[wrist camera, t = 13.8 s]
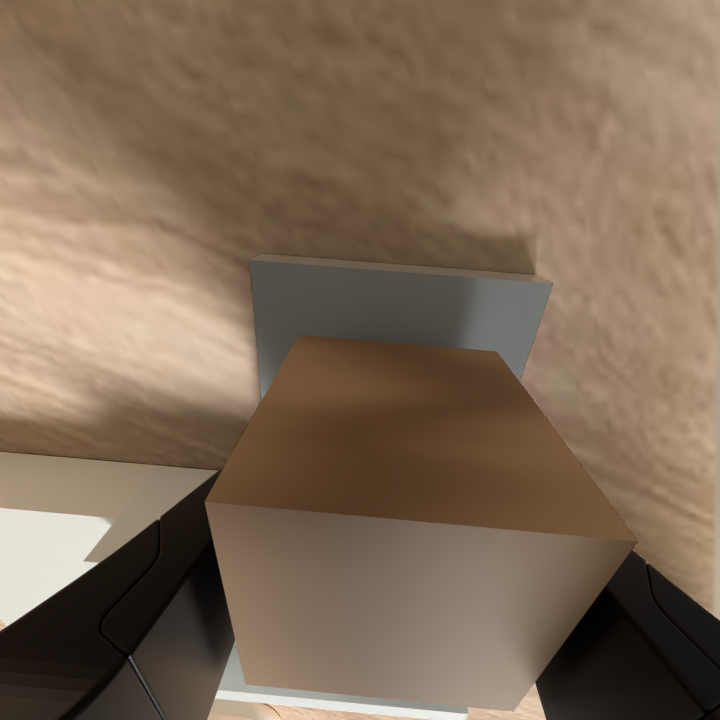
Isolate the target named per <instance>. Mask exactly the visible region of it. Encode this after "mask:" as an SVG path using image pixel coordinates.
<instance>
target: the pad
mask: <svg viewBox="0 0 720 720" xmlns="http://www.w3.org/2000/svg"><path fill="white" fill-rule="evenodd" d="M249 265H250V277H251V288H252V299H253V310H254V321H255V332H256V343H257V354H258V366H259V377H260V388H261V399H263V397H264V395H265V394H266V392H267V390H268V388H269V387H270V385H271V383H272V381H273V380H274V378H275V376H276V374H277V372H278V371H279V369H280V367H281V365H282V364H283V362H284V360H285V358H286V357H287V355H288V353H289V351H290V349H291V348H292V346H293V344H294V342H295V341H296V339H297V337H298V335H307V336H319V337H331V338H343V339H355V340H367V341H379V342H391V343H403V344H415V345H427V346H439V347H451V348H463V349H475V350H487V351H497V352H498V353H499V355H500V356H501V357H502V359H503V360H504V361H505V363H506V364H507V366H508V367H509V368H510V370H511V371H512V372H513V374H514V375H515V376H516V378H517V379H518V380H519V382H520V379H521V376H522V373H523V371H524V368H525V365H526V362H527V359H528V356H529V353H530V350H531V347H532V344H533V341H534V338H535V336H536V333H537V330H538V327H539V324H540V321H541V318H542V315H543V312H544V309H545V306H546V303H547V301H548V298H549V295H550V292H551V289H552V286H553V283H551V282H549V281H547V280H546V279H544V278H542V277H540V276H538V275H532V274H519V273H506V272H493V271H480V270H467V269H455V268H442V267H429V266H416V265H403V264H390V263H377V262H364V261H351V260H338V259H325V258H312V257H299V256H286V255H273V254H259V255H257V256H256V257H254V258H252V259H250V260H249Z"/></svg>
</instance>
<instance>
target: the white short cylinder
mask: <svg viewBox="0 0 720 720" xmlns="http://www.w3.org/2000/svg"><path fill="white" fill-rule="evenodd" d="M207 720H281V719H280V717H279V715H278V714H277V713H276V712H275V711H274V710H273V709H272V708H270V707H269V706H267V705H266V704H264V703H255V702H245V701H234V700H224V699H214V702H213V705H212V708H211V710H210V713H209V716H208V719H207Z"/></svg>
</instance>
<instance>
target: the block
mask: <svg viewBox="0 0 720 720" xmlns="http://www.w3.org/2000/svg"><path fill="white" fill-rule="evenodd" d="M205 506H206V511H207V515H208V520H209V524H210V529H211V533H212V538H213V542H214V547H215V551H216V556H217V560H218V565H219V569H220V574H221V578H222V583H223V587H224V592H225V596H226V601H227V605H228V609H229V614H230V618H231V623H232V627H233V632H234V636H235V641H236V645H237V650H238V654H239V659H240V663H241V668H242V672H243V677H244V681H245V685H255V686H265V687H275V688H285V689H295V690H305V691H315V692H325V693H335V694H345V695H355V696H365V697H374V698H384V699H394V700H404V701H414V702H424V703H434V704H444V705H454V706H464V707H474V708H484V709H494V710H504V711H514V710H515V708H516V707H517V706H518V704H519V703H520V702H521V700H522V699H523V698H524V696H525V695H526V693H527V692H528V691H529V689H530V688H531V687H532V685H533V684H534V683H535V681H536V680H537V678H538V677H539V676H540V674H541V673H542V672H543V670H544V669H545V668H546V666H547V665H548V663H549V662H550V661H551V659H552V658H553V657H554V655H555V654H556V653H557V651H558V650H559V648H560V647H561V646H562V644H563V643H564V642H565V640H566V639H567V638H568V636H569V635H570V633H571V632H572V631H573V629H574V628H575V627H576V625H577V624H578V623H579V621H580V620H581V618H582V617H583V616H584V614H585V613H586V612H587V610H588V609H589V608H590V606H591V605H592V604H593V602H594V601H595V599H596V598H597V597H598V595H599V594H600V593H601V591H602V590H603V589H604V587H605V586H606V584H607V583H608V582H609V580H610V579H611V578H612V576H613V575H614V574H615V572H616V571H617V569H618V568H619V567H620V565H621V564H622V563H623V561H624V560H625V559H626V557H627V556H628V554H629V553H630V552H631V550H632V549H633V548H634V546H635V545H636V544H637V542H638V541H637V540H636V538H635V537H634V535H633V534H632V533H631V531H630V530H629V529H628V527H627V526H626V525H625V523H624V522H623V521H622V519H621V518H620V517H619V515H618V514H617V513H616V511H615V510H614V509H613V507H612V506H611V504H610V503H609V502H608V500H607V499H606V498H605V496H604V495H603V494H602V492H601V491H600V490H599V488H598V487H597V486H596V484H595V483H594V482H593V480H592V479H591V477H590V476H589V475H588V473H587V472H586V471H585V469H584V468H583V467H582V465H581V464H580V463H579V461H578V460H577V459H576V457H575V456H574V455H573V453H572V452H571V451H570V449H569V448H568V446H567V445H566V444H565V442H564V441H563V440H562V438H561V437H560V436H559V434H558V433H557V432H556V430H555V429H554V428H553V426H552V425H551V424H550V422H549V421H548V419H547V418H546V417H545V415H544V414H543V413H542V411H541V410H540V409H539V407H538V406H537V405H536V403H535V402H534V401H533V399H532V398H531V397H530V395H529V394H528V392H527V391H526V390H525V388H524V387H523V386H522V384H521V383H520V382H519V380H518V379H517V378H516V376H515V375H514V374H513V372H512V371H511V370H510V368H509V367H508V366H507V364H506V363H505V361H504V360H503V359H502V357H501V356H500V355H499V353H498V352H497V351H487V350H475V349H463V348H451V347H439V346H427V345H415V344H403V343H391V342H379V341H367V340H355V339H343V338H331V337H319V336H307V335H298V337H297V339H296V341H295V342H294V344H293V346H292V348H291V349H290V351H289V353H288V355H287V357H286V358H285V360H284V362H283V364H282V365H281V367H280V369H279V371H278V372H277V374H276V376H275V378H274V380H273V381H272V383H271V385H270V387H269V388H268V390H267V392H266V394H265V395H264V397H263V399H262V401H261V403H260V404H259V406H258V408H257V410H256V411H255V413H254V415H253V417H252V418H251V420H250V422H249V424H248V426H247V427H246V429H245V431H244V433H243V434H242V436H241V438H240V440H239V441H238V443H237V445H236V447H235V449H234V450H233V452H232V454H231V456H230V457H229V459H228V461H227V463H226V464H225V466H224V468H223V470H222V472H221V473H220V475H219V477H218V479H217V480H216V482H215V484H214V486H213V487H212V489H211V491H210V493H209V495H208V496H207V498H206V500H205Z"/></svg>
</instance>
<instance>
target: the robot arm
mask: <svg viewBox="0 0 720 720" xmlns="http://www.w3.org/2000/svg"><path fill="white" fill-rule="evenodd" d="M223 468H224V466H223V467H222V468H221V469H220V470H218V471H217V472H216V473H215V474H213V475H212V476H211V477H209V478H208V479H207V480H206V481H204V482H203V483H202V484H201V485H199V486H198V487H197V488H196V489H194V490H193V491H192V492H191V493H189V494H188V495H187V496H186V497H184V498H183V499H182V500H180V501H179V502H178V503H177V504H175V505H174V506H173V507H172V508H170V509H169V510H168V511H167V512H165V513H164V514H163V515H162V516H160V520H158V519H157V520H155V521H154V522H152V523H151V524H150V525H149V526H147V527H146V528H145V529H144V530H142V531H141V532H140V533H139V534H137V535H136V536H135V537H133V538H132V539H131V540H129V541H128V542H127V543H125V544H124V545H123V546H121V547H120V548H119V549H118V550H116V551H115V552H114V553H112V554H111V555H110V556H108V557H107V558H105V559H104V560H102V561H101V562H100V563H98V564H97V565H95V566H94V567H93V568H91V569H90V570H88V571H87V572H86V573H84V574H83V575H81V576H80V577H78V578H77V579H76V580H74V581H73V582H71V583H70V584H68V585H67V586H65V587H64V588H62V589H61V590H60V591H58V592H57V593H55V594H54V595H52V596H51V597H49V598H48V599H46V600H45V601H43V602H42V603H41V604H39V605H38V606H36V607H35V608H33V609H32V610H30V611H29V612H27V613H26V614H24V615H23V616H22V617H20V618H19V619H17V620H16V621H14V622H13V623H11V624H10V625H8V626H7V627H6V628H4V629H3V630H1V631H0V720H207V719H208V716H209V713H210V710H211V708H212V705H213V702H214V699H215V696H216V693H217V691H218V688H219V685H220V682H221V679H222V676H223V673H224V671H225V668H226V665H227V662H228V659H229V656H230V654H231V651H232V648H233V645H234V642H235V636H234V632H233V627H232V623H231V618H230V614H229V609H228V605H227V601H226V596H225V592H224V587H223V583H222V578H221V574H220V569H219V565H218V560H217V556H216V551H215V547H214V542H213V538H212V533H211V529H210V524H209V520H208V515H207V511H206V506H205V500H206V498H207V496H208V495H209V493H210V491H211V489H212V487H213V486H214V484H215V482H216V480H217V479H218V477H219V475H220V473H221V472H222V470H223ZM535 683H536V687H537V690H538V693H539V697H540V700H541V703H542V707H543V710H544V714H545V717H546V720H720V620H718V619H717V618H716V617H714V616H713V615H712V614H711V613H709V612H708V611H707V610H705V609H704V608H703V607H702V606H700V605H699V604H698V603H697V602H695V601H694V600H693V599H692V598H690V597H689V596H688V595H687V594H685V593H684V592H683V591H682V590H680V589H679V588H678V587H677V586H676V585H674V584H673V583H672V582H671V581H669V580H668V579H667V578H666V577H665V576H663V575H662V574H661V573H660V572H658V571H657V570H656V569H655V568H654V567H652V566H651V565H650V564H646V561H645V560H644V559H643V558H641V557H640V556H639V555H638V554H637V553H635V552H634V551H633V550H631V552H630V553H629V554H628V556H627V557H626V559H625V560H624V561H623V563H622V564H621V565H620V567H619V568H618V569H617V571H616V572H615V574H614V575H613V576H612V578H611V579H610V580H609V582H608V583H607V584H606V586H605V587H604V589H603V590H602V591H601V593H600V594H599V595H598V597H597V598H596V599H595V601H594V602H593V604H592V605H591V606H590V608H589V609H588V610H587V612H586V613H585V614H584V616H583V617H582V618H581V620H580V621H579V623H578V624H577V625H576V627H575V628H574V629H573V631H572V632H571V633H570V635H569V636H568V638H567V639H566V640H565V642H564V643H563V644H562V646H561V647H560V648H559V650H558V651H557V653H556V654H555V655H554V657H553V658H552V659H551V661H550V662H549V663H548V665H547V666H546V668H545V669H544V670H543V672H542V673H541V674H540V676H539V677H538V678H537V680H536V681H535Z"/></svg>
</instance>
